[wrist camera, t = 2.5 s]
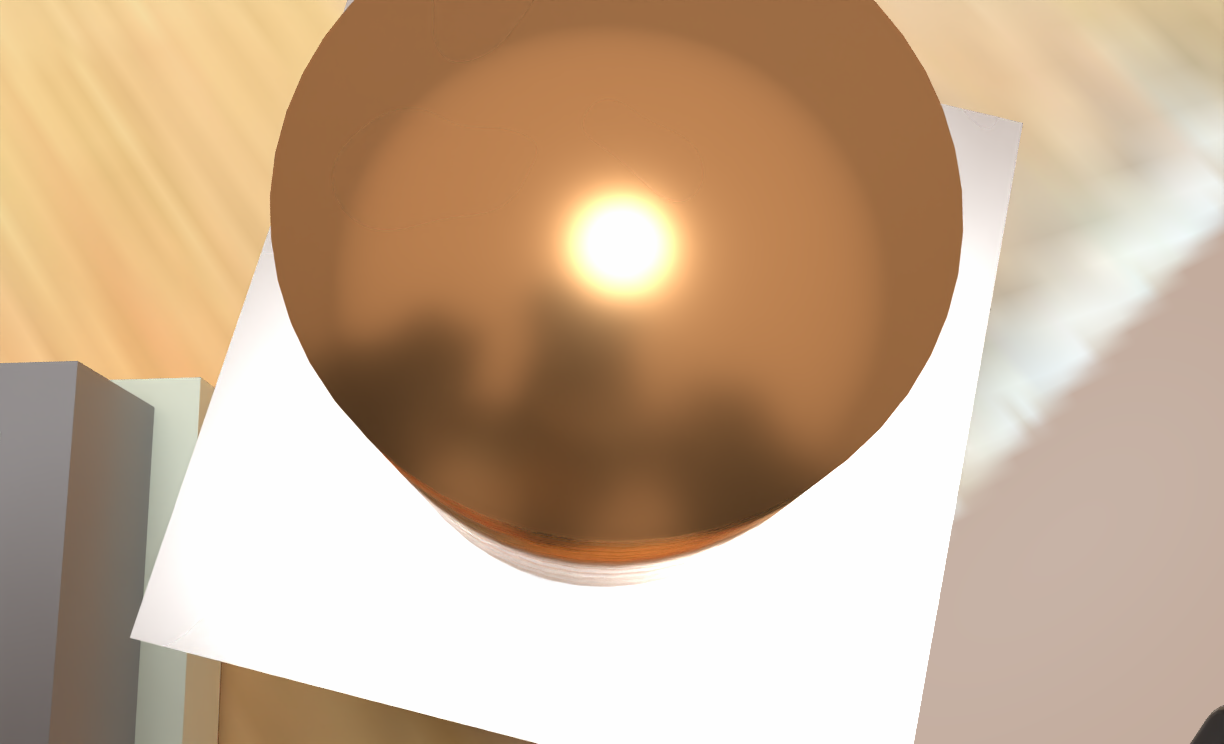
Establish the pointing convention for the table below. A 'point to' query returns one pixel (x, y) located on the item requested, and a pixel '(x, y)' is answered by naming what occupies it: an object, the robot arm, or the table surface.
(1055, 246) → the table surface
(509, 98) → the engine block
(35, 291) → the table surface
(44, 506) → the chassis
